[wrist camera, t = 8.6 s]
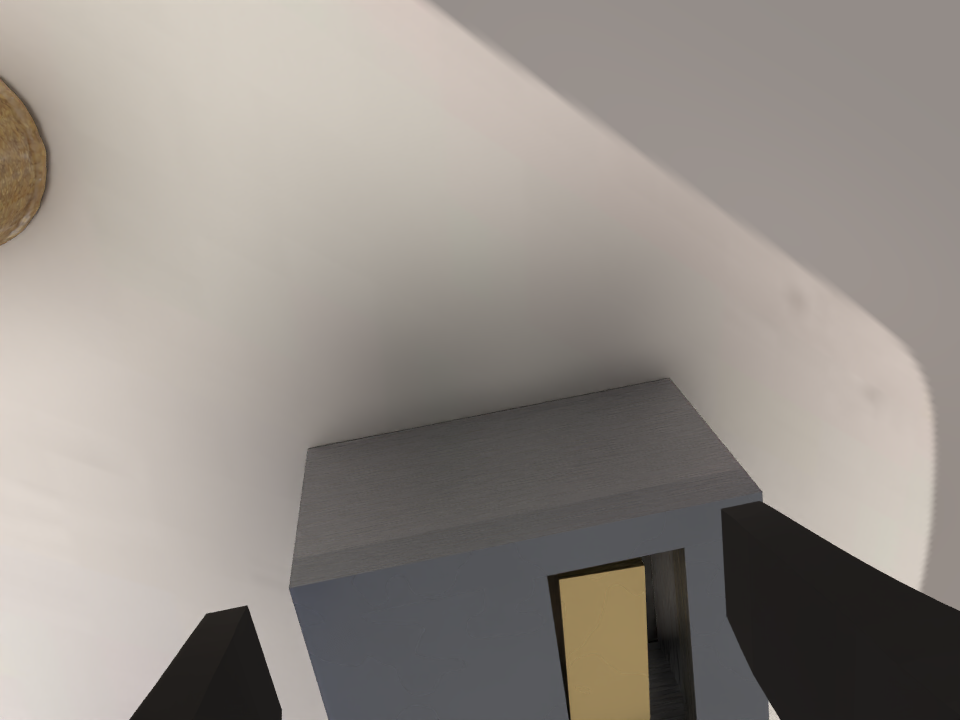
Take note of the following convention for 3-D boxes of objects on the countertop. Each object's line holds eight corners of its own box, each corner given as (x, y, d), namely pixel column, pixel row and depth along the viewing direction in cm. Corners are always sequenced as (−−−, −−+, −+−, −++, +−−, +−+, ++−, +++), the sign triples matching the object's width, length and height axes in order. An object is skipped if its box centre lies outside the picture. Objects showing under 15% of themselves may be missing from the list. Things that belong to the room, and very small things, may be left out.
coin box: (690, 659, 27) (772, 823, 22) (381, 724, 27) (385, 909, 21) (669, 378, 23) (761, 492, 18) (307, 448, 23) (288, 588, 17)
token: (601, 602, 26) (650, 728, 22) (536, 613, 26) (573, 742, 21) (592, 459, 24) (644, 565, 20) (522, 470, 24) (559, 579, 20)
